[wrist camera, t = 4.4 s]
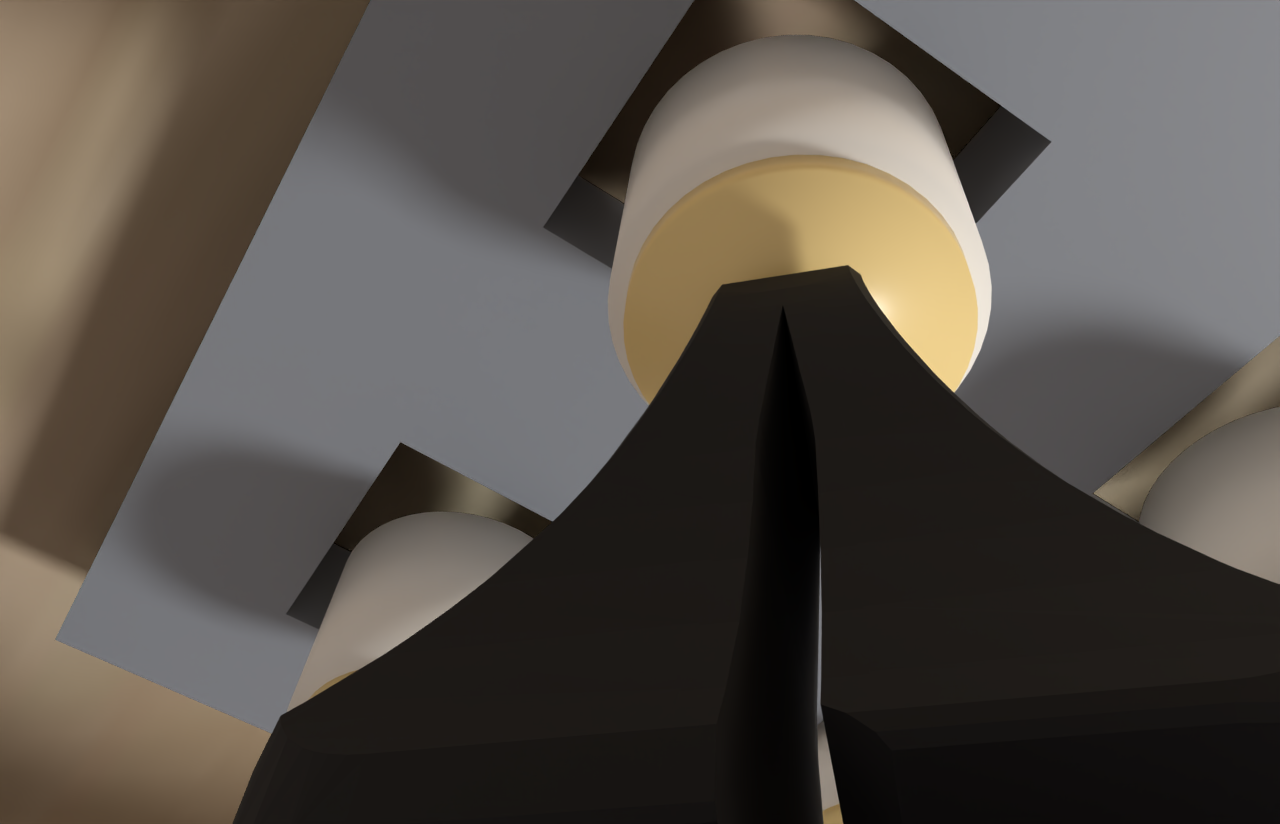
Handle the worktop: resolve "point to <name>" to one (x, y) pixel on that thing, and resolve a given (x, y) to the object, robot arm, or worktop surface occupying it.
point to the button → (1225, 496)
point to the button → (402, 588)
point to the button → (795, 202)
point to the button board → (580, 277)
